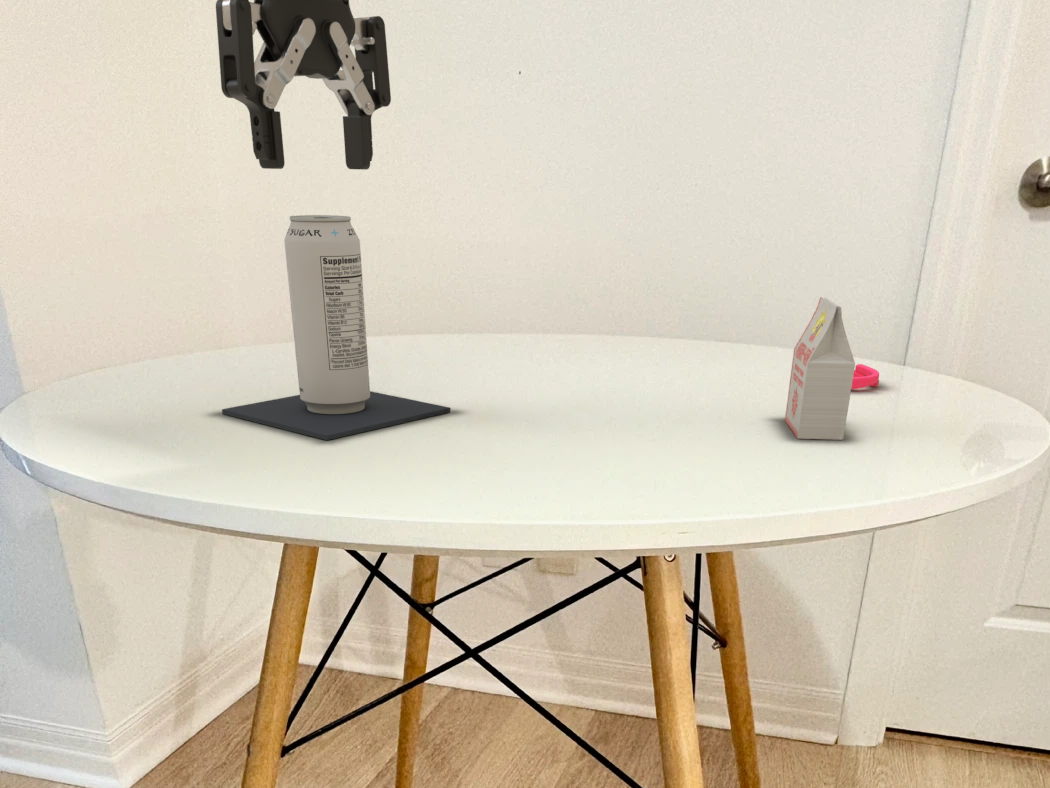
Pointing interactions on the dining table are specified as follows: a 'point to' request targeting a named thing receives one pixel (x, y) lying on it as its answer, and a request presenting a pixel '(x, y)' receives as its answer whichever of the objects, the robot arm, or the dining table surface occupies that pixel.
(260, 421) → the slate mat
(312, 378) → the energy drink can
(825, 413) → the milk carton
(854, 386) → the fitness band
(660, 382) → the dining table surface
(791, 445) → the dining table surface
